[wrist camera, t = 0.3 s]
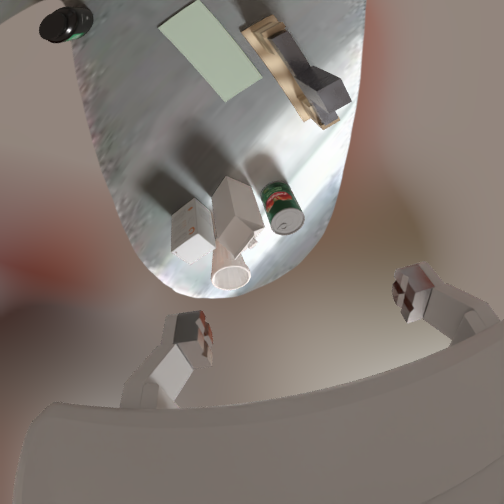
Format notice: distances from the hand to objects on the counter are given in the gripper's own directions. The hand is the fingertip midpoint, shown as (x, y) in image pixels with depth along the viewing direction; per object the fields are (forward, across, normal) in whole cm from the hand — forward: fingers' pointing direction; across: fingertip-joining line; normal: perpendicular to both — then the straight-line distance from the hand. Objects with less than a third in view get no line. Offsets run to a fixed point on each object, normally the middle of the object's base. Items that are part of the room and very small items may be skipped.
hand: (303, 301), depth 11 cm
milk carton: (+56, +7, +17) cm, 59 cm away
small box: (+56, +18, +20) cm, 62 cm away
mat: (+48, +3, -16) cm, 51 cm away
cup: (+59, +12, +32) cm, 69 cm away
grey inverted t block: (+43, -11, -8) cm, 45 cm away
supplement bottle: (+43, +26, -31) cm, 59 cm away
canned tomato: (+58, -4, +21) cm, 61 cm away
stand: (+51, -11, -10) cm, 53 cm away
